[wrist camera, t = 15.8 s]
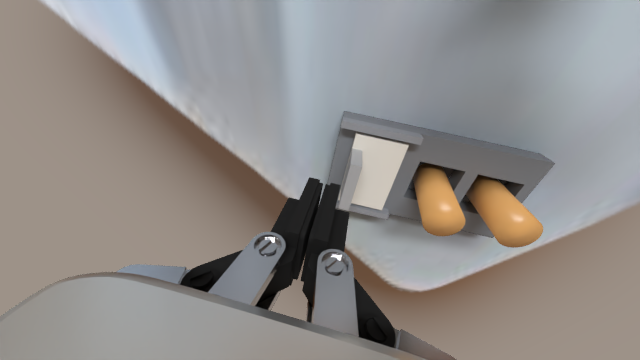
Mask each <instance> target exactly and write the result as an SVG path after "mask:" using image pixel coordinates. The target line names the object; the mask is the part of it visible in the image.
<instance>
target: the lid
mask: <svg viewBox="0 0 640 360" xmlns="http://www.w3.org/2000/svg"><path fill="white" fill-rule="evenodd" d="M408 146H409V145H408V143H407V142H403V141H399V140H394V139H390V138H385V137H381V136H376V135H372V134H367V133H363V132H358V131H356V134H355V138H354V141H353V145H352V149H351V152H350V156H349V160H348V163H347V167H346V171H345V175H344V178H343V182H342V186H341V189H340V193H339V197H338V200H339V208H338V209H342V210H347V211H349V208H350V205H351V203H353V204H357V205H361V206H365V207H370V208H374V209H378V210H382V209H383V206H384V204H385V201H386V199H387V197H388V194H389V192H390V189H391V187H392V185H393V182H394V180H395V178H396V175H397V173H398V170H399V168H400V166H401V163H402V161H403V158H404V156H405V154H406V151H407V149H408Z"/></svg>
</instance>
